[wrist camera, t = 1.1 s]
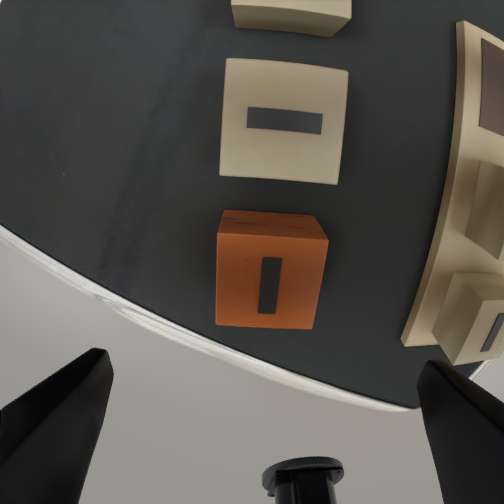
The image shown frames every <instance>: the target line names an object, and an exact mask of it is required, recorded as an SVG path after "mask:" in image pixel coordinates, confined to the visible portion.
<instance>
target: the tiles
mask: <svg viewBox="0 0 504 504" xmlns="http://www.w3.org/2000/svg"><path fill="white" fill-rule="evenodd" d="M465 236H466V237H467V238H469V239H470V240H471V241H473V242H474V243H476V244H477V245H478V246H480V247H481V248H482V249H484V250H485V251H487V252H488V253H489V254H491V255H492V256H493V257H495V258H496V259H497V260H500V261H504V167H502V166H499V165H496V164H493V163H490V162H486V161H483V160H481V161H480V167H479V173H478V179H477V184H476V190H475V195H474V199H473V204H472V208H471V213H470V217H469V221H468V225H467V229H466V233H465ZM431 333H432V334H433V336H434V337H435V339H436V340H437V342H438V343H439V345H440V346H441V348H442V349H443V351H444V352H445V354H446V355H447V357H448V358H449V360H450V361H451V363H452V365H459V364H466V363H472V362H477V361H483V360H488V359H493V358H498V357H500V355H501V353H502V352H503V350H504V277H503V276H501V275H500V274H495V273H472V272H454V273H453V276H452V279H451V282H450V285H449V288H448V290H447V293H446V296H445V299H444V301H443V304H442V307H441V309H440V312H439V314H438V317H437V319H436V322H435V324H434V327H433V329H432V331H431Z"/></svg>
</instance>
